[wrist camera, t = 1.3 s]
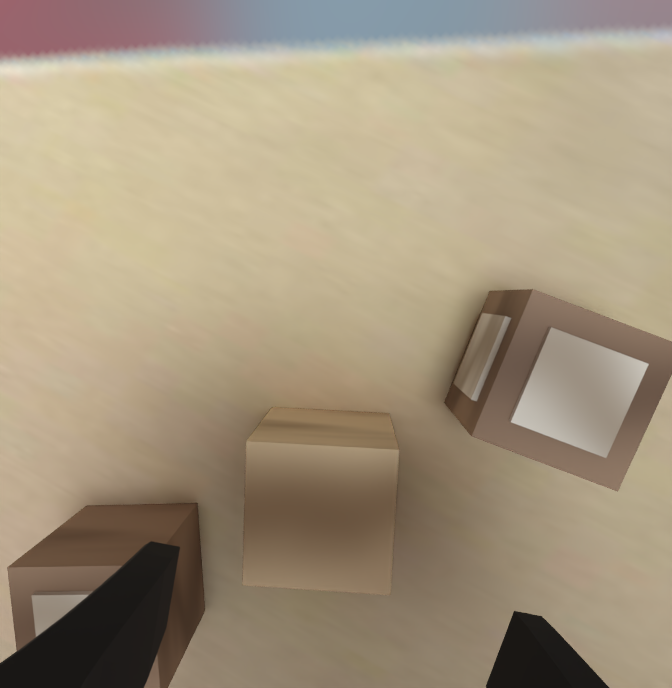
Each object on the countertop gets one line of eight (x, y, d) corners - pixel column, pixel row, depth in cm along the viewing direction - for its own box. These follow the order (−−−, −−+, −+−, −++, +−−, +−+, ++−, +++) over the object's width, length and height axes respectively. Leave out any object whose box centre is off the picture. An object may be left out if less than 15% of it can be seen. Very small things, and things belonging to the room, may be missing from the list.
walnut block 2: (554, 444, 21) (621, 493, 15) (439, 400, 21) (466, 435, 15) (602, 334, 20) (689, 346, 15) (484, 289, 20) (529, 287, 15)
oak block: (382, 525, 21) (390, 595, 16) (268, 518, 21) (242, 585, 16) (389, 412, 21) (399, 449, 16) (272, 406, 21) (246, 441, 16)
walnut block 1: (205, 609, 22) (158, 706, 17) (93, 610, 22) (13, 706, 17) (198, 502, 21) (147, 568, 16) (83, 505, 22) (-3, 570, 16)
